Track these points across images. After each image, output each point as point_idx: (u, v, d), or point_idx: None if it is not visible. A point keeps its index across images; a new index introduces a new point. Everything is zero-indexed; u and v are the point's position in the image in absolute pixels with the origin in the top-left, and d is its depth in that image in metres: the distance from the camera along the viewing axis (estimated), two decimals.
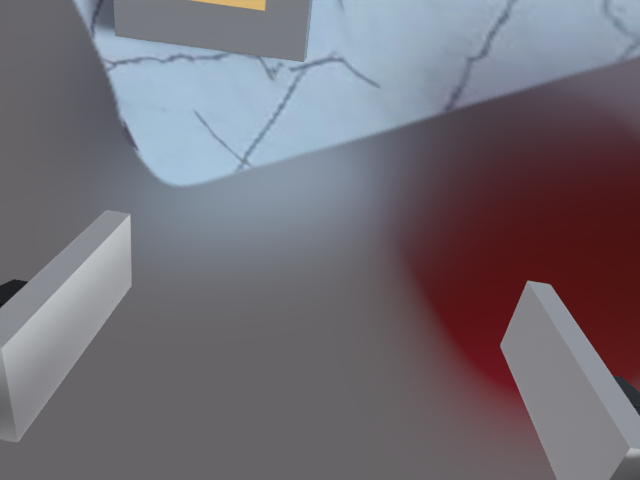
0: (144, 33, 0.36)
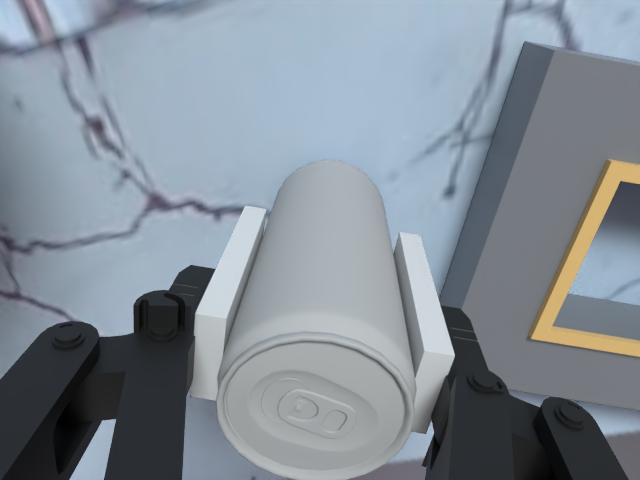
0: None
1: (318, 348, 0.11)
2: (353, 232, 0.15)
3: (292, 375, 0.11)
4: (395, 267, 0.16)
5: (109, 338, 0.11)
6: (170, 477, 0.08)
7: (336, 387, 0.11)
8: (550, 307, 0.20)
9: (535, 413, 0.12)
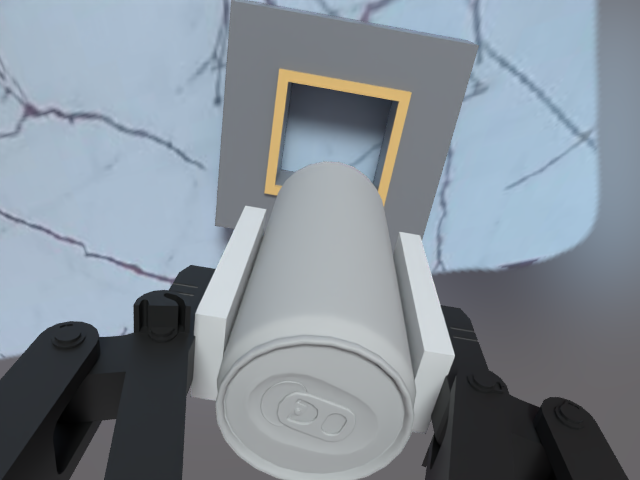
0: (417, 231, 0.33)
1: (317, 352, 0.11)
2: (353, 235, 0.15)
3: (292, 379, 0.11)
4: None
5: (109, 338, 0.11)
6: (169, 478, 0.08)
7: (335, 390, 0.11)
8: (270, 169, 0.31)
9: (535, 413, 0.12)
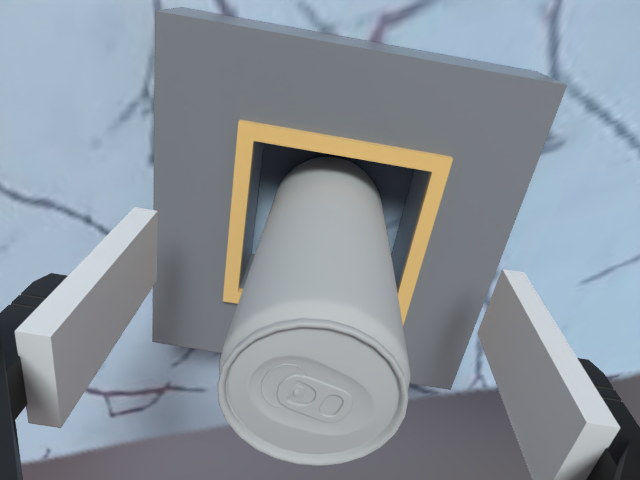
0: (453, 352, 0.22)
1: (315, 334, 0.11)
2: (350, 226, 0.15)
3: (291, 361, 0.11)
4: (391, 260, 0.16)
5: None
6: None
7: (332, 372, 0.11)
8: (230, 269, 0.20)
9: None
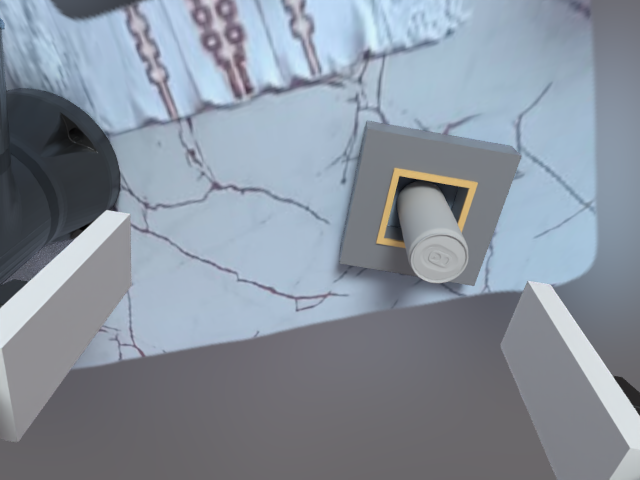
0: (476, 267, 0.50)
1: (442, 237, 0.39)
2: (443, 208, 0.43)
3: (434, 246, 0.39)
4: None
5: None
6: None
7: (446, 249, 0.39)
8: (381, 228, 0.48)
9: None
